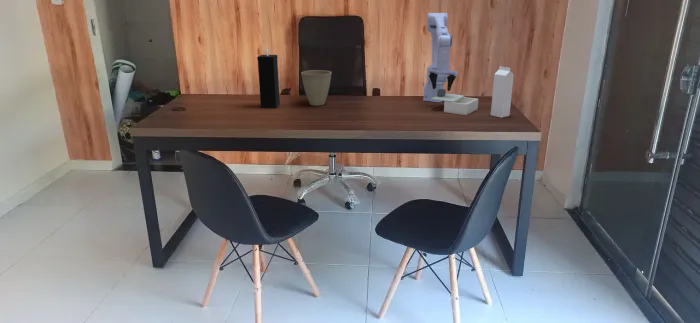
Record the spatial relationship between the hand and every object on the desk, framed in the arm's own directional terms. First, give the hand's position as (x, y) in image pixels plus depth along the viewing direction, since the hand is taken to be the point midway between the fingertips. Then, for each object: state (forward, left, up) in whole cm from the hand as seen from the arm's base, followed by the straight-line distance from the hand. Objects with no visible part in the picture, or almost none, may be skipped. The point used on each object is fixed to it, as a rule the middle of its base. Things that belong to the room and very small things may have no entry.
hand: (441, 89), depth 236 cm
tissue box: (-71, -44, -9) cm, 84 cm away
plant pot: (-55, -27, -9) cm, 62 cm away
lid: (+4, 0, -4) cm, 5 cm away
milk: (+29, +1, -9) cm, 30 cm away
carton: (+11, 0, -9) cm, 14 cm away
